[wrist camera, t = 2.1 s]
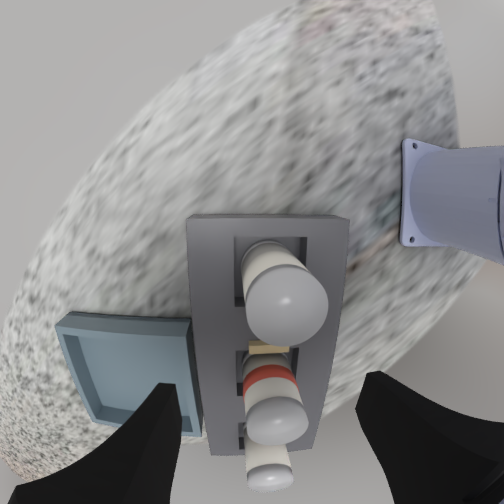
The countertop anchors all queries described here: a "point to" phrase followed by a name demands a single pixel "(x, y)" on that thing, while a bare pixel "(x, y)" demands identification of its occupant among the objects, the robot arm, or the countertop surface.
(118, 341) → the tray
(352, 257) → the countertop surface
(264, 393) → the marked fuse
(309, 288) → the fuse
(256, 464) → the fuse
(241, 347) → the fuse holder
